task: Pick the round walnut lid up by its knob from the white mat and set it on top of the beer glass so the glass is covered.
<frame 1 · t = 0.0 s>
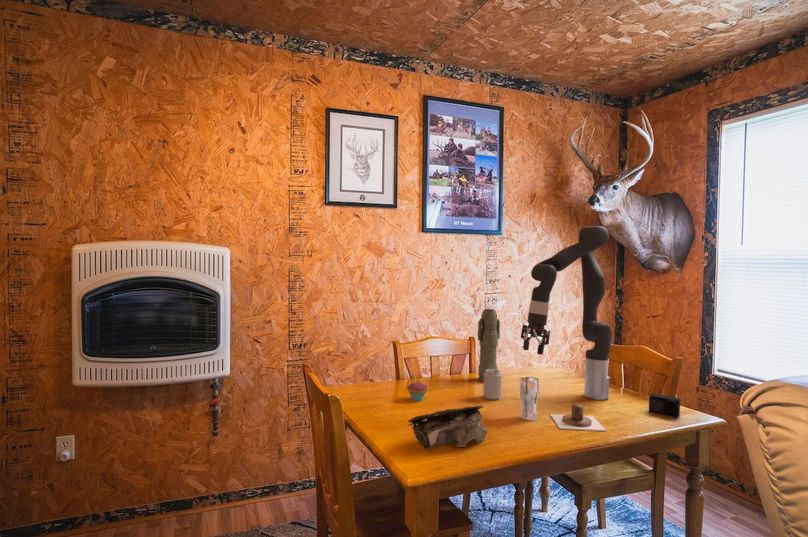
hand: (532, 352, 185), 22 cm above the table, tool pointing down, fingers open, 8 cm apart
hollow geode rock: (447, 443, 148), on the table
white mat: (576, 423, 168), on the table
green statue: (487, 380, 224), on the table
cupcake: (417, 399, 191), on the table
walnut lid: (577, 413, 168), on the white mat
beer glass: (528, 418, 172), on the table
digital camera: (663, 414, 180), on the table
can: (492, 398, 196), on the table
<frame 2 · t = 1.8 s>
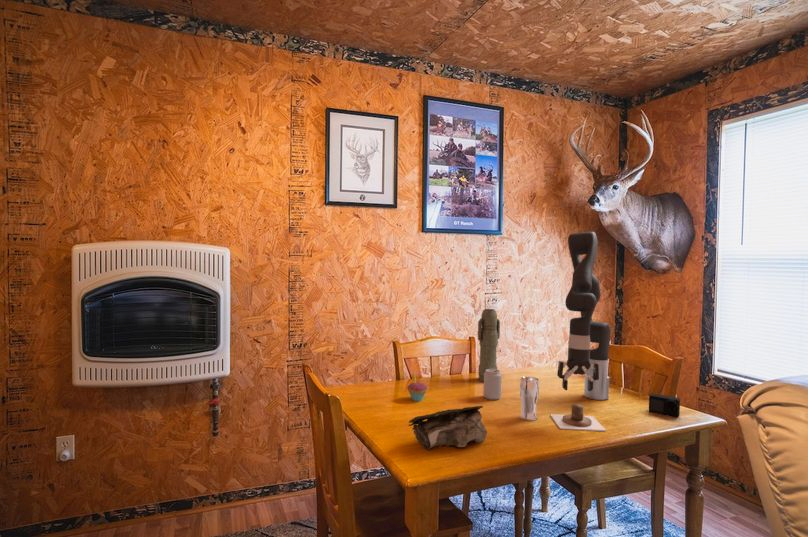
hand: (577, 390, 168), 12 cm above the table, tool pointing down, fingers open, 8 cm apart
nothing on the table moved.
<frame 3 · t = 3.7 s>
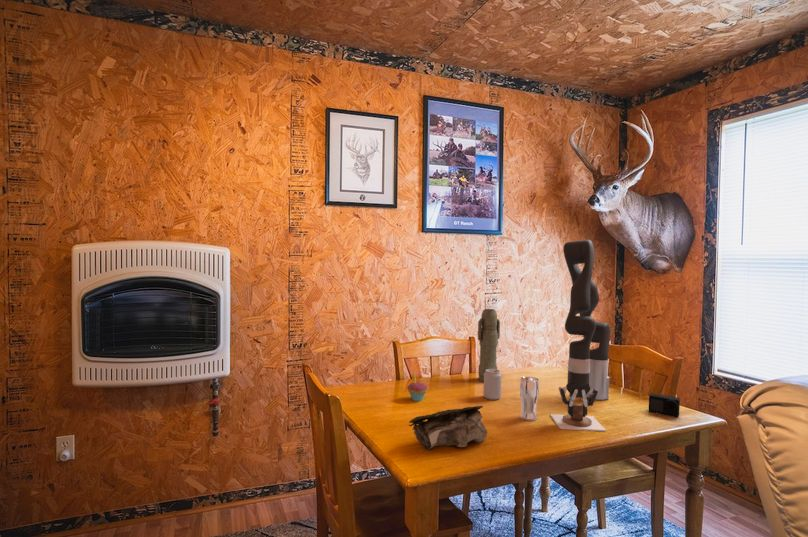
hand: (577, 415, 168), 3 cm above the table, tool pointing down, fingers closed on walnut lid, 4 cm apart
walnut lid: (577, 413, 168), on the white mat, touching gripper
everything else where it was.
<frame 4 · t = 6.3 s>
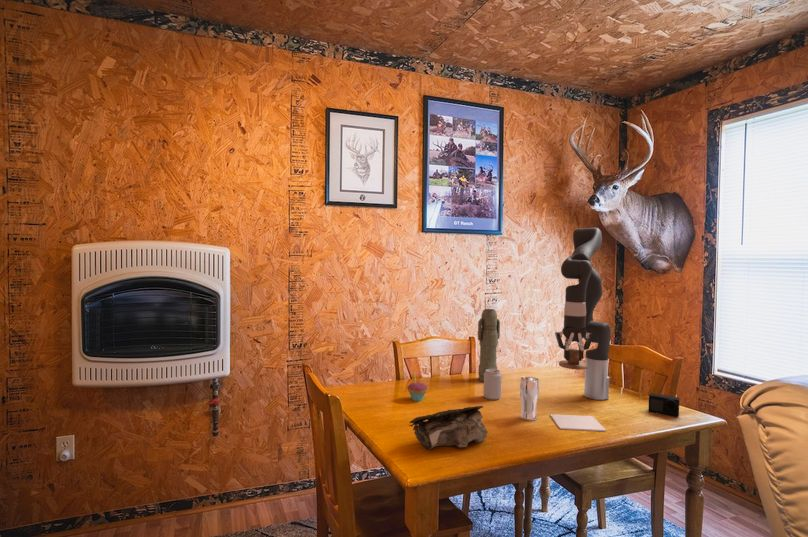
hand: (573, 360, 168), 23 cm above the table, tool pointing down, fingers closed on walnut lid, 4 cm apart
walnut lid: (573, 358, 167), point 24 cm above the table, touching gripper
everything else where it was.
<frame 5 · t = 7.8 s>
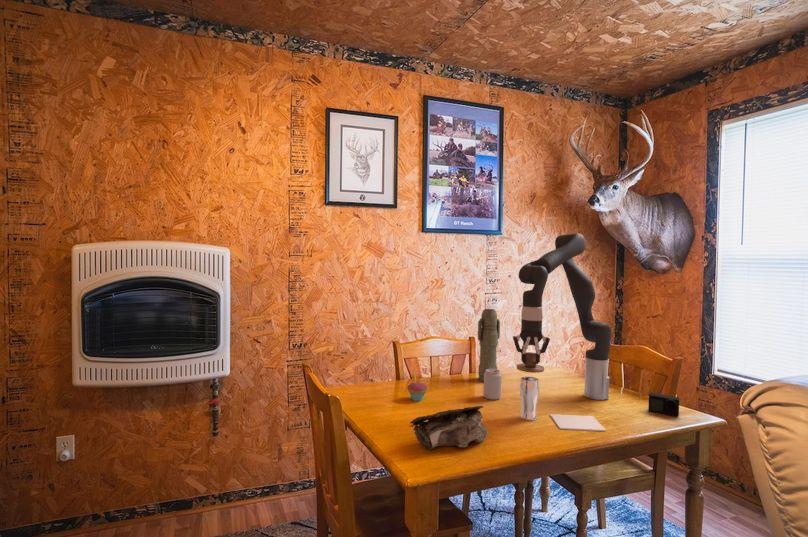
hand: (530, 363, 172), 21 cm above the table, tool pointing down, fingers closed on walnut lid, 4 cm apart
walnut lid: (530, 361, 172), point 22 cm above the table, touching gripper
everything else where it was.
when the fingers open (18 cm above the table, at t = 9.1 s): walnut lid stays where it is, resting on beer glass.
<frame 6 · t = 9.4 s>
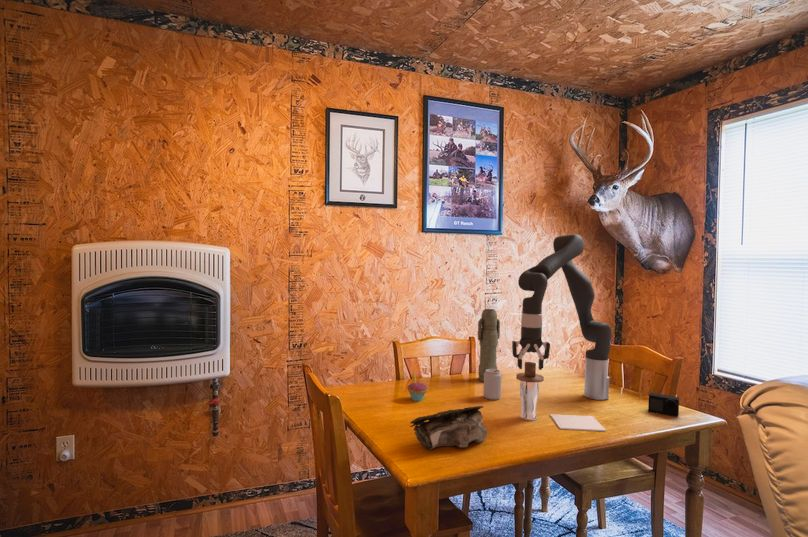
hand: (530, 368, 172), 19 cm above the table, tool pointing down, fingers open, 6 cm apart
walnut lid: (530, 370, 172), point 18 cm above the table, touching beer glass
beer glass: (528, 418, 172), on the table, touching walnut lid
everything else where it was.
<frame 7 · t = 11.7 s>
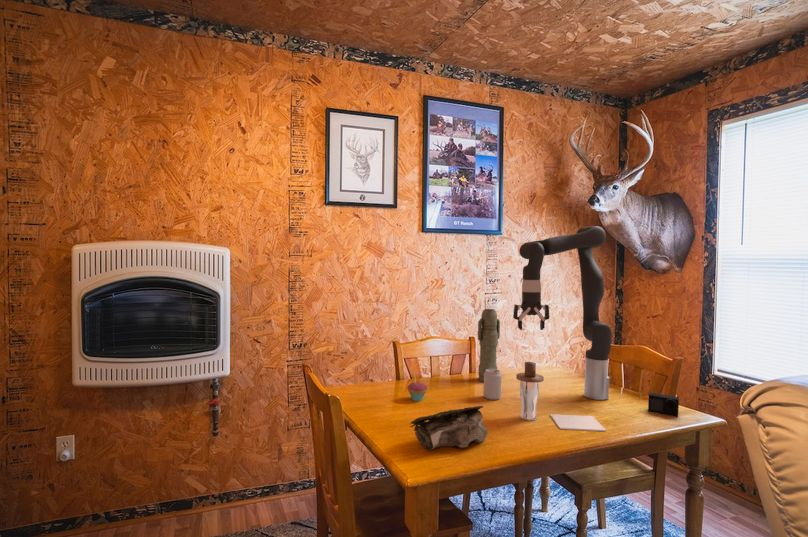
hand: (531, 329, 188), 31 cm above the table, tool pointing down, fingers open, 8 cm apart
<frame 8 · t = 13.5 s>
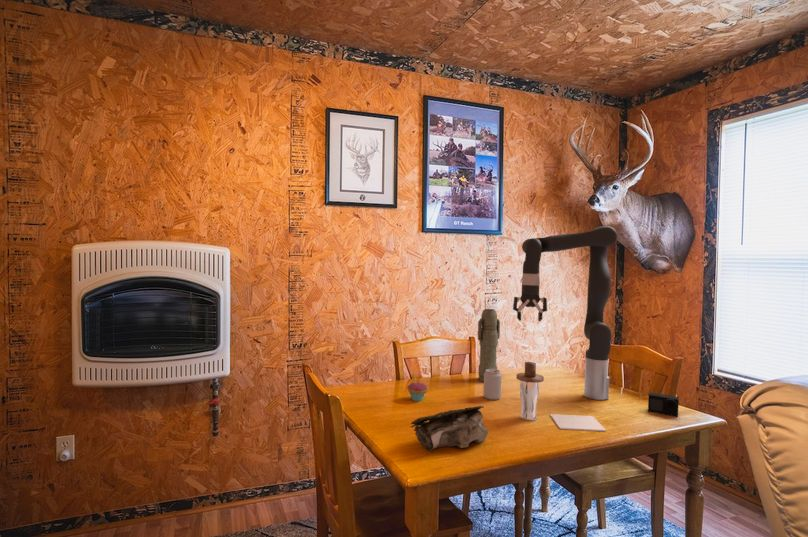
hand: (529, 320, 200), 33 cm above the table, tool pointing down, fingers open, 8 cm apart
at the end: walnut lid 0.0 cm off-centre on the beer glass, point 18.2 cm above the beer glass's base; walnut lid touching beer glass; beer glass tilted 0° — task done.
